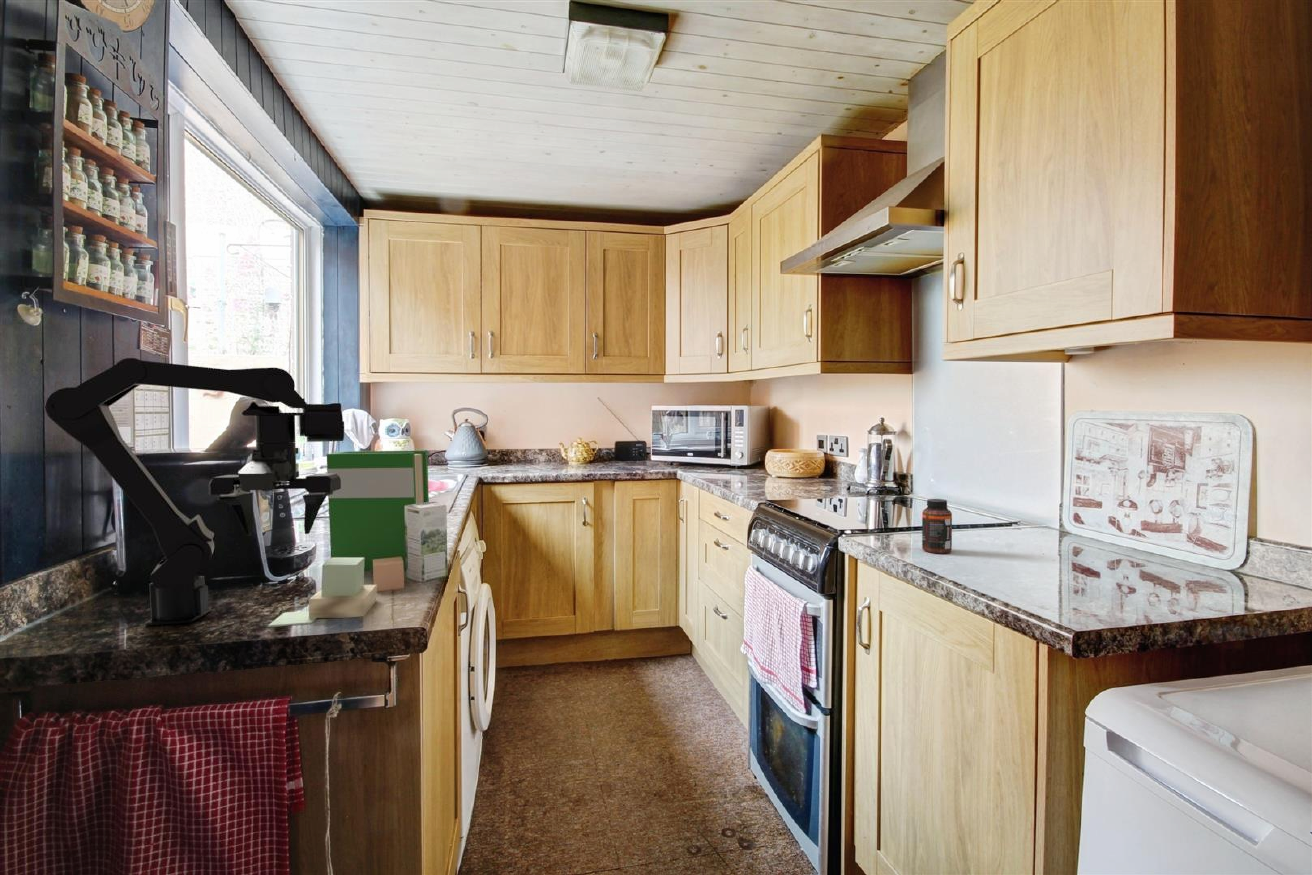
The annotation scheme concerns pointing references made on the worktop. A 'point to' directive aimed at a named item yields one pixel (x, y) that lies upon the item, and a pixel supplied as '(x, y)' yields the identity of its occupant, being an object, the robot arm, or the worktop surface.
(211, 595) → the worktop surface
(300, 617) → the sage swatch
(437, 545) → the syrup box
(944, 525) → the supplement bottle
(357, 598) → the beech block
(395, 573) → the terracotta cube
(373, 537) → the hardback book
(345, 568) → the sage cube
